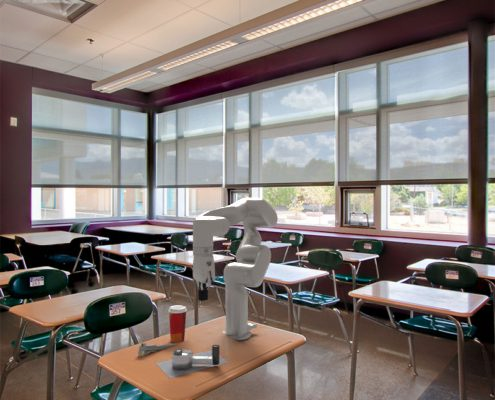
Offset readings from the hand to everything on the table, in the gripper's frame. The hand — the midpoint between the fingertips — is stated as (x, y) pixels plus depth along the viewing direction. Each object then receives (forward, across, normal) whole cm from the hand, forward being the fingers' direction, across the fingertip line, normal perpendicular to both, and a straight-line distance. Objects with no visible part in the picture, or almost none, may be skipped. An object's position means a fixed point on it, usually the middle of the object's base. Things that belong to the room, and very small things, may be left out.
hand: (203, 299), depth 140 cm
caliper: (+22, +12, +11) cm, 27 cm away
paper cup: (+22, +20, +2) cm, 30 cm away
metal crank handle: (+20, -9, +7) cm, 23 cm away
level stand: (+21, -6, +7) cm, 23 cm away
